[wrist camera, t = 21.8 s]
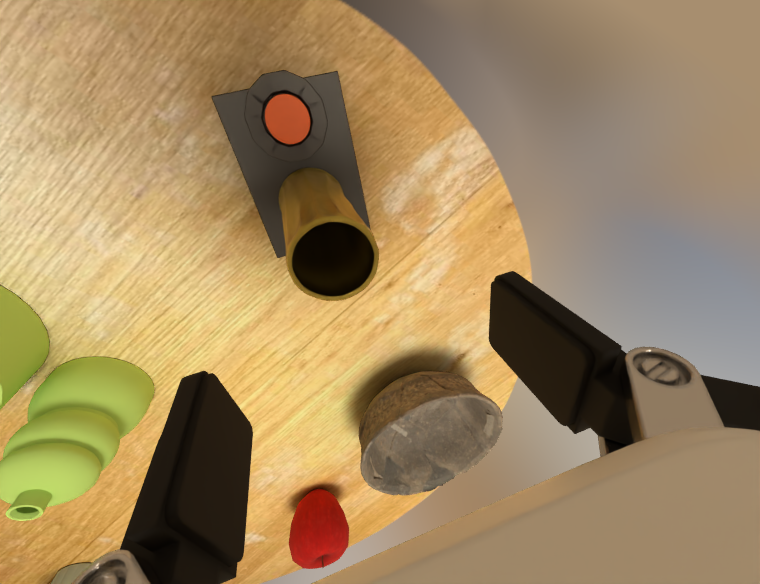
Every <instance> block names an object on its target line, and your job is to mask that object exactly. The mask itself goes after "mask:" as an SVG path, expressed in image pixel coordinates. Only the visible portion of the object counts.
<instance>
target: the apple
mask: <svg viewBox="0 0 760 584" xmlns="http://www.w3.org/2000/svg"><path fill="white" fill-rule="evenodd" d="M348 541H349V527H348V523H347V520H346V517H345V514H344V512H343V510H342V508H341V506H340V505H339V503H338V501H337V499H336V498H335V496H334V495H333V494H331V493H330V492H328V491H326V490H324V489H315V490H313V491H311V492H310V493H308V494H307V495H306V496H305V497H304V498H303V499H302V500H301V501H300V502H299V504H298V506H297V508H296V511H295V514H294V517H293V520H292V523H291V530H290V538H289V547H290V551H291V555H292V559H293V561H294V562H295V563H297V564H298V565H300V566H301V567H302V568H307V569H313V568H321V567H325V566H327V565H329V564H331V563H333V562H335V561H337V560H338V559H339V558H340V557H341V556H342V555H343V553H344V552H345V550H346V548H347V547H348Z"/></svg>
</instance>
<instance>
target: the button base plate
mask: <svg viewBox="0 0 760 584" xmlns="http://www.w3.org/2000/svg"><path fill="white" fill-rule="evenodd" d="M280 94H289V95H292V96H294V97H296V98H298V99H299V100H300V101H301V102H302V103H303V104H304V105H305V107H306V108H307V110H308V113H309V116H310V129H309V132H308V134H307V136H306V137H305V138H304V139H303V140H302V141H301V142H299V143H296V144H286V143H283V142H281V141H279V140H277V139H276V138H275V137H274V136H273V135H272V134H271V133H270V131H269V129H268V127H267V125H266V121H265V110H266V107H267V104H268V103H269V101H270V100H271V99H272V98H273V97H275V96H277V95H280ZM212 100H213V102H214V105H215V107H216V109H217V112H218V114H219V117H220V119H221V122H222V124H223V126H224V129H225V131H226V134H227V136H228V139H229V141H230V143H231V146H232V148H233V151H234V153H235V156H236V158H237V161H238V163H239V165H240V168H241V170H242V173H243V175H244V178H245V180H246V182H247V185H248V187H249V190H250V192H251V195H252V197H253V199H254V202H255V204H256V207H257V209H258V212H259V214H260V217H261V219H262V221H263V224H264V226H265V229H266V231H267V234H268V236H269V238H270V241H271V243H272V246H273V248H274V251H275V253H276V256H277V258H280V257H283V256H286V246H285V237H284V230H283V221H282V212H281V210H280V206H279V191H280V188H281V186H282V184H283V182H284V180H285V179H286V178H287V177H288V176H289V175H290V174H292V173H293V172H295V171H297V170H299V169H302V168H317V169H321V170H324V171H326V172H327V173H329V174H330V175H332V176H333V177H334V178H335V179H336V180H337V181H338V182H339V184H340V186H341V188H342V190H343V193H344V196H345V197H346V199H347V200H348V201H349V202H350V203H351V205H352V206H353V208H354V210H355V211H356V213H357V214H358V215H359V216H360V218H361V219H362V220H363V222H364V223H365V224H366V225H367V227H368V228H369V229H370V224H369V220H368V215H367V210H366V205H365V200H364V196H363V191H362V186H361V181H360V176H359V172H358V167H357V162H356V157H355V152H354V148H353V143H352V138H351V133H350V128H349V124H348V119H347V114H346V109H345V104H344V100H343V95H342V90H341V85H340V80H339V76H338V72H337V71H335V72H330V73H325V74H320V75H315V76H310V77H305V78H302V77H300V76H297V75H295V74H293V73H290V72H288V71H286V70H281V71H276V72H271V73H266V74H262V75H261V76H260V77H259V78H258V80H257V81H256V82H255V83H254V84H253V85H252V86H251V88H250V89H245V90H240V91H235V92H231V93H226V94H221V95H216V96H212ZM370 230H371V229H370Z"/></svg>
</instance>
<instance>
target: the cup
mask: <svg viewBox="0 0 760 584" xmlns="http://www.w3.org/2000/svg"><path fill="white" fill-rule="evenodd" d="M90 564H91V563H79V564H74V565H70V566H67V567H65V568H63V569H61V570H60V571H58V573H57V574H56V576H55V577H54V579H53V581H52V582H51V584H71V583H72V582H73V581H74V580H75V579H76V578H77V577H78V576H79V574H80V573H81V572H82V571H83V570H84V569H86V568H87V567H88V566H89V565H90Z"/></svg>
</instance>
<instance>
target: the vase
mask: <svg viewBox="0 0 760 584" xmlns="http://www.w3.org/2000/svg"><path fill="white" fill-rule="evenodd" d="M279 206H280V210H281V212H282V221H283V230H284V237H285V246H286V263H287V268H288V271H289V273H290V276H291V278H292V280H293V281H294V283H295V284H296V286H297V287H298V288H299V289H300V290H301V291H303V292H304V293H306V294H307V295H309V296H312V297H315V298H318V299H321V300H326V301H338V300H344V299H347V298H350V297H352V296H354V295H356V294H358V293H359V292H361V291H362V290H364V289H365V288H366V287H367V286H368V285H369V284H370V282H371V281H372V279H373V278H374V276H375V274H376V271H377V267H378V261H379V249H378V247H377V244H376V241H375V239H374V236H373V233H372V232H371V230H370V229H369V228H368V227H367V225H366V224H365V223H364V222H363V220H362V219H361V218H360V216H359V215H358V214H357V213H356V211H355V210H354V208H353V206H352V205H351V203H350V202H349V201H348V200H347V199H346V197H345V196H344V193H343V190H342V188H341V186H340V184H339V182H338V181H337V180H336V179H335V178H334V177H333V176H332V175H330V174H329V173H327V172H326V171H324V170H321V169H317V168H302V169H299V170H297V171H295V172H293V173H292V174H290V175H289V176H288V177H287V178H286V179H285V180H284V182H283V184H282V186H281V188H280V191H279Z"/></svg>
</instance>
